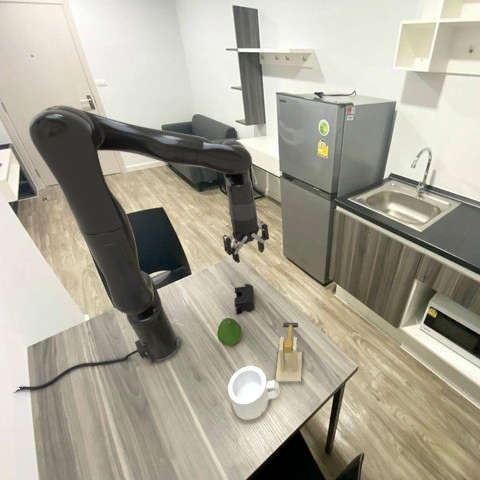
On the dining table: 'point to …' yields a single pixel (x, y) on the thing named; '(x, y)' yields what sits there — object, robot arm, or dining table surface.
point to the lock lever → (289, 337)
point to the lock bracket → (289, 363)
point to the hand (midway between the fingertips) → (249, 256)
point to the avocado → (229, 332)
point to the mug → (251, 392)
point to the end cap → (244, 298)
